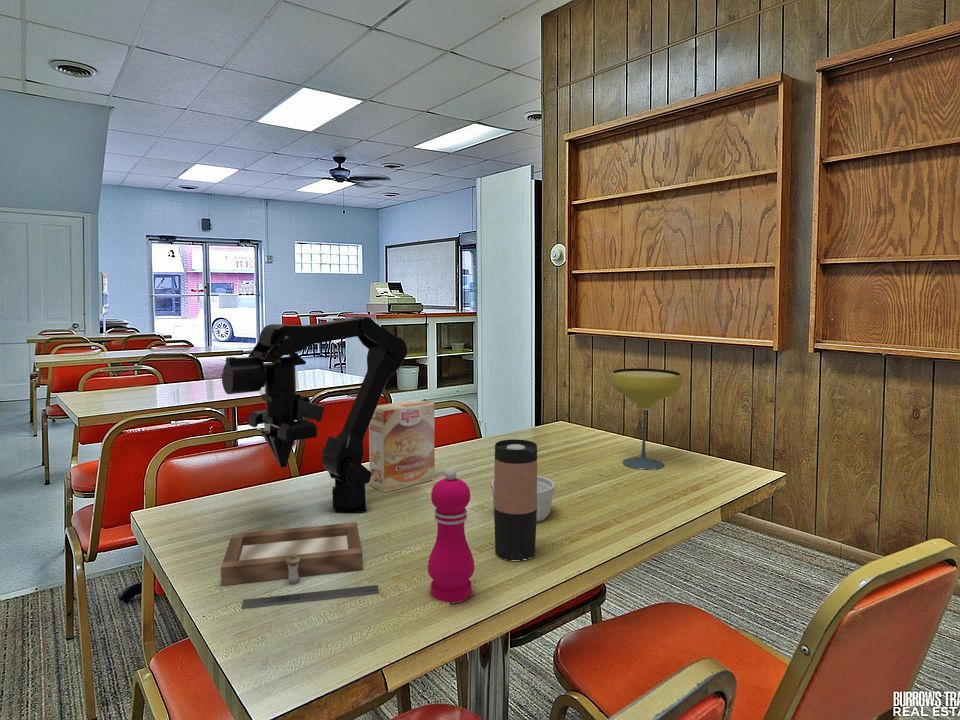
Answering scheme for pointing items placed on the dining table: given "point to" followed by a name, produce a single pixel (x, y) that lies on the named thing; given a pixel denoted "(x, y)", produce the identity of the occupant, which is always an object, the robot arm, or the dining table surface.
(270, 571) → the picture frame
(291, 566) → the screw post
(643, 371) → the cocktail glass
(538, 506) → the ramekin
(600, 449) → the dining table surface
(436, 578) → the pepper mill
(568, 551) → the dining table surface
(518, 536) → the travel mug
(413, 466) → the coffeecake box
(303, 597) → the strip
